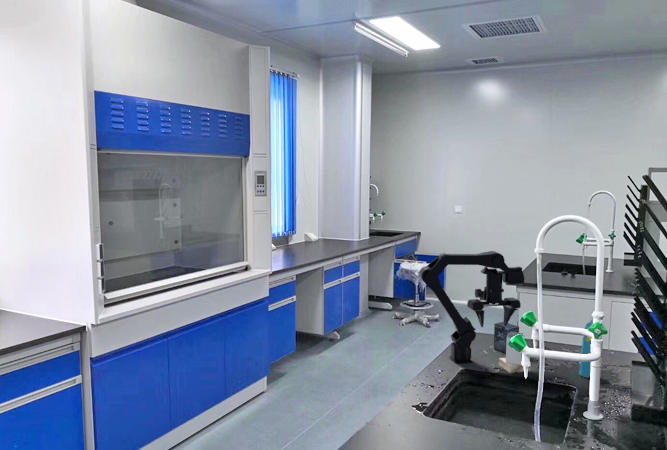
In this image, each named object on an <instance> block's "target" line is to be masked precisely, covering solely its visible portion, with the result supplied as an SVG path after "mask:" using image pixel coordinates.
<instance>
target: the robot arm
mask: <svg viewBox="0 0 667 450" xmlns="http://www.w3.org/2000/svg"><path fill="white" fill-rule="evenodd" d="M448 265H449V266H452V265H453V266H455V265H456V266H458V265H459V266H482V267H484V268H483V269H481V270H480V273H481V274H483V275H485V276H486V277H485V278H486V279H485V280H486V281H485V282H486V283H485V286H484V289H483V290H482V289H481V288H476V289H475V290H474V297H475V298H476V299H475V298H473V299H468V300H467V302H466V303H467V306H466V307H468V308H469V309H471V310H472V311H473V312H474V313H475V315H476V316H477V319H478V322H479V325H480V327H481V328H484V324H485V310H483V309H484V308H485V307H486V308H487V307H503V322H504V326H506V325H507V323H509V321H510V320H511V317H512V316H513V315H514V313H515V312H516V311H517V310H518V309H521V308H522V303H521V301H520V300H519V299H518V298H515V297H504V299H503V293H504V292H505V289H504V288H503V283H505V285H506V286H523V285H524V284H525V276H524V271H523V267H521V266H515V267H514V266H513V267H509V265H507V264H506V262H505V257H504V255H502V253H500V252H497V251H495V250H491V251H484V252H480V253H445V252H443V253H440V254H439V255H438V256H437V257H436V258H434V260H432V261H431V262H430V263H428V264H427V265H425V266H422V267H421V268H420V270H419V273H418V275H419V278H420V280H421V281H422V282H423V283H424V284H425V285H426V286H427V287H428V288H429V289H430V290H431V292H433V293H434V295H435V297H436V298H437V300H438V301H439V302H440V305H441V306H442V307H443V309H444V310H445V312H446V313H447V314H448V317H449V318H450V319H451V321H452V324H453V327H454V329H455V331H454V332H453V333H451V335H450V339H451V341H452V343H450V345H451V346H450V347H451V348H450V355H449V359H450V360H452V362H454V363H455V364H463V363H472V361H473V360H472V348H471V345H472V342H474V341H475V339H476V336H477V334H476V328H475V327H474V325H473V324H472V322H471V320H470V319H469V318H468V317H467V316H465V317H462V315H461V314H460V312H459V311H458V309H457V308H456V306H455V304H454V303H453V302H452V300H451V299H450V296H449V295H448V294H447V293H446V291H445V290H444V288H443V285H442V283H441V281H440V278H439V275H441V274H442V273H443V271H444V270H445V269H446V268H447V266H448ZM497 269H499V270H497ZM478 298H479V299H478Z"/></svg>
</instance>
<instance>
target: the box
mask: <svg viewBox="0 0 667 450" xmlns="http://www.w3.org/2000/svg"><path fill="white" fill-rule="evenodd" d="M493 326H494V329H493V331H494V333H493V350H497V351H500V352H502V353H504V354H506V338H507V336H508V334H509V333H510V332H516V333H520V326H519V325H515V324H511V323H509V322H508V323H507V325H506V326H504V321H501V322H500V321H499V322H496V323H494V325H493Z"/></svg>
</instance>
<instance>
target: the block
mask: <svg viewBox="0 0 667 450" xmlns="http://www.w3.org/2000/svg"><path fill="white" fill-rule="evenodd" d="M498 366H500V367H501V368H503V370H505V371H507V372H508V373H509V374H516V373H515V372H517V373H524V372H523V367H522V365H518V364H511V363H506V357H499V358H498ZM531 371H532V366H531V367H530V368H529V372H531Z"/></svg>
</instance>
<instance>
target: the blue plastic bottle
mask: <svg viewBox="0 0 667 450" xmlns="http://www.w3.org/2000/svg"><path fill="white" fill-rule="evenodd" d="M592 324H593V325H594V319H593V318H592V319H591V320H590V321H588V322H587V323H586V324H585V326H584V329H588V328H589V327H590V326H591V325H592ZM590 344H591V340H590V338H589V337H587V336H583V335H582V342H581V351H580V352H581V353H580V355H581V354H588V353H590ZM578 374H579V376H581V377H583V378H588V379H590V378H589V374H590V362H580V363H579V373H578Z"/></svg>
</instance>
